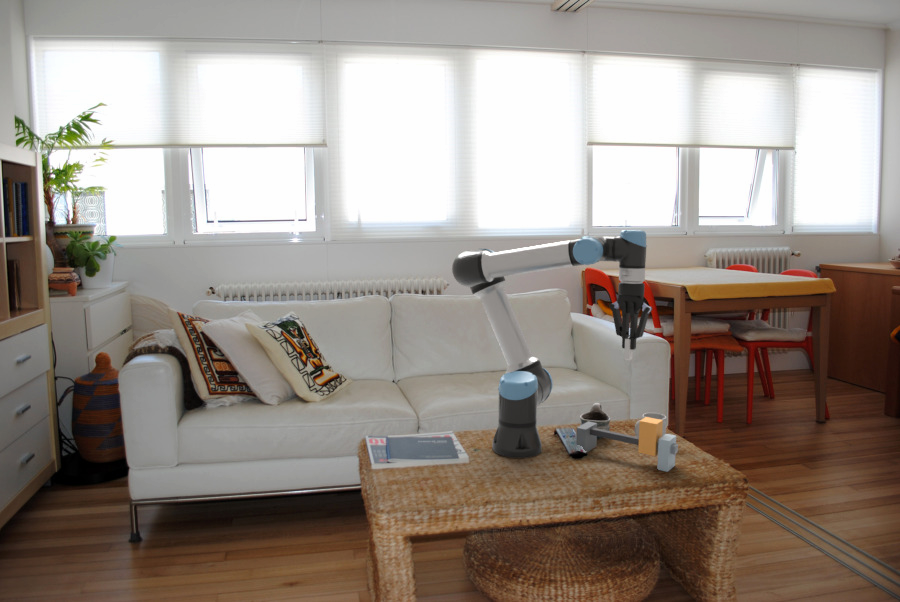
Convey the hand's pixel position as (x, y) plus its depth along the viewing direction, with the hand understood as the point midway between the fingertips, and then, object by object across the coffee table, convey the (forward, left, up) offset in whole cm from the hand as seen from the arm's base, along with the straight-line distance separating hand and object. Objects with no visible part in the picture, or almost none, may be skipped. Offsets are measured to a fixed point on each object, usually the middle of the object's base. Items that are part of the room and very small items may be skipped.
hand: (628, 359), depth 200 cm
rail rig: (+3, -6, -29) cm, 29 cm away
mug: (-13, +7, -29) cm, 33 cm away
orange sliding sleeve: (+10, -6, -25) cm, 28 cm away
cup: (+4, +11, -29) cm, 31 cm away
